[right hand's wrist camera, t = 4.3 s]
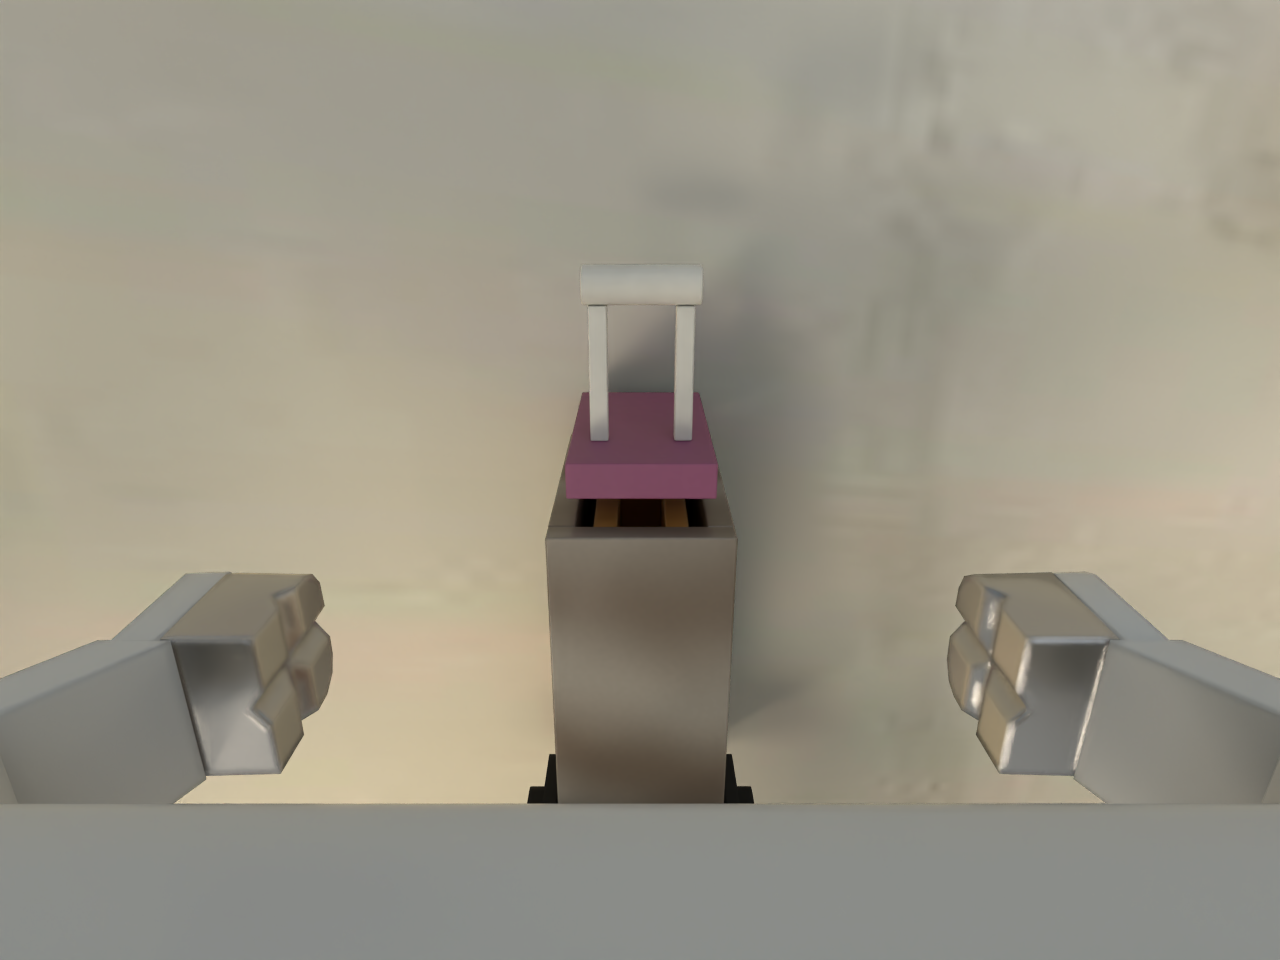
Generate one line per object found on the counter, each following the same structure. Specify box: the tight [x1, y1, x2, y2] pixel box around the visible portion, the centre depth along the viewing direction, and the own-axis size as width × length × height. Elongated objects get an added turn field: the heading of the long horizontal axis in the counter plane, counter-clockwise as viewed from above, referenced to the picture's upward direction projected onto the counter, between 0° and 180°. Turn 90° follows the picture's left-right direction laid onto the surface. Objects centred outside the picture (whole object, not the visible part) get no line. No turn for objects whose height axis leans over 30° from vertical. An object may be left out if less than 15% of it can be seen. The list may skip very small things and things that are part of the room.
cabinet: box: [545, 435, 738, 804], centre depth 32 cm, size 17×6×10 cm, turn 0°
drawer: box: [565, 264, 718, 527], centre depth 30 cm, size 21×5×8 cm, turn 0°
